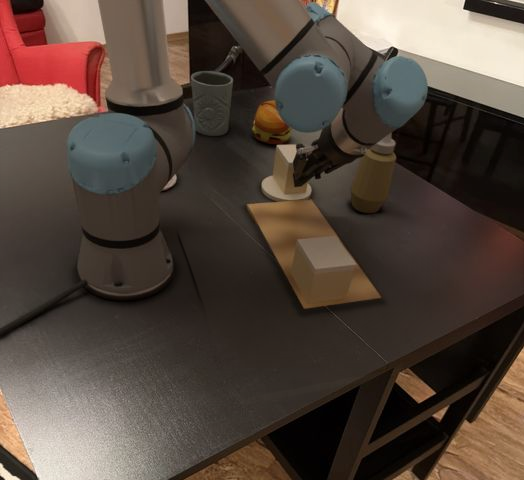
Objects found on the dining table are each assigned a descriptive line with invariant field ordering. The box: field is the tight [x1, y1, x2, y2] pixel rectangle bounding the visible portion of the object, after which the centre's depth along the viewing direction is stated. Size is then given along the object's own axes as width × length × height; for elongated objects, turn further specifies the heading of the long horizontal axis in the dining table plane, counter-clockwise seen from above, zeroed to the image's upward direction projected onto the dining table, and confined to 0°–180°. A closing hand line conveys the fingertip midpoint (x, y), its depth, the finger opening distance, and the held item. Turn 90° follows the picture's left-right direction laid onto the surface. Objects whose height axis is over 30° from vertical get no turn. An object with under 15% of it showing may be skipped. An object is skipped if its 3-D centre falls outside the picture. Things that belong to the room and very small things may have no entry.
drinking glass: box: [190, 70, 234, 137], centre depth 118 cm, size 10×10×12 cm
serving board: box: [246, 199, 383, 309], centre depth 89 cm, size 32×14×1 cm, turn 18°
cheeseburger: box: [251, 99, 293, 145], centre depth 119 cm, size 10×11×10 cm
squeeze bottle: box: [349, 132, 397, 214], centre depth 97 cm, size 8×8×18 cm
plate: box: [260, 174, 313, 202], centre depth 104 cm, size 11×11×1 cm
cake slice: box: [272, 144, 309, 194], centre depth 102 cm, size 8×5×7 cm, turn 17°
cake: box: [291, 236, 357, 303], centre depth 79 cm, size 8×7×7 cm
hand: (296, 180), depth 98 cm, fingers closed
